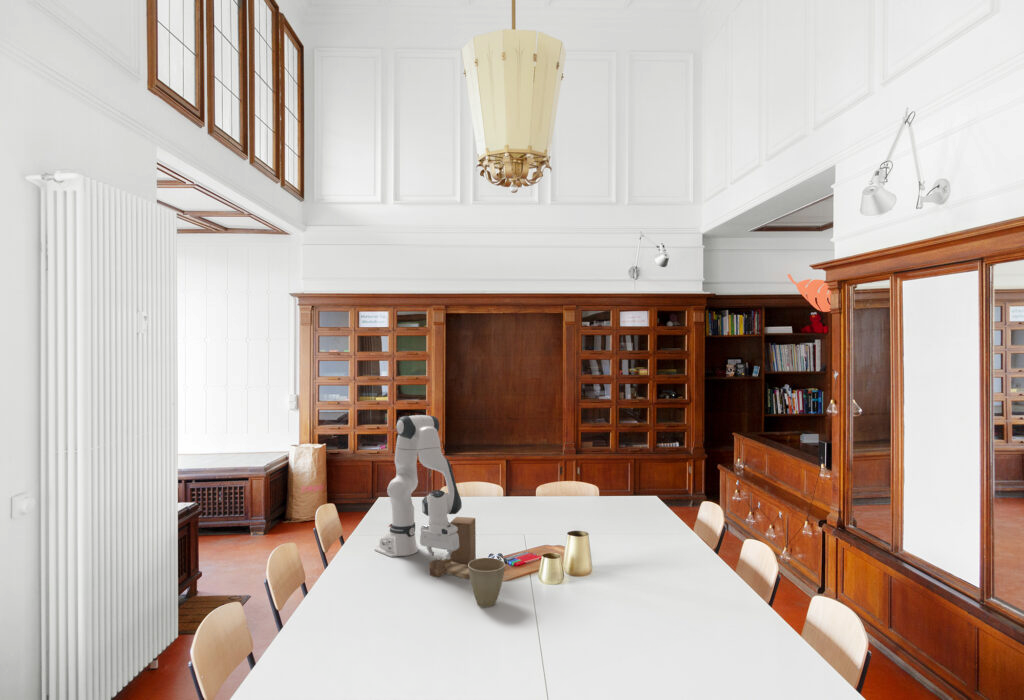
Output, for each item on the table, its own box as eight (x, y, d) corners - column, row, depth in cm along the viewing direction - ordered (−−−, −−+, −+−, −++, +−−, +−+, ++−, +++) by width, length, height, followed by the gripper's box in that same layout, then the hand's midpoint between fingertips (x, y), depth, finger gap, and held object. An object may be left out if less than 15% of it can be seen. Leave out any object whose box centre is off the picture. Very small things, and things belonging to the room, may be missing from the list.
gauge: (429, 575, 274) (429, 561, 274) (446, 566, 284) (446, 553, 284) (438, 577, 271) (437, 564, 271) (455, 568, 282) (455, 555, 282)
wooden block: (470, 565, 285) (470, 523, 285) (450, 564, 287) (449, 522, 287) (475, 558, 295) (475, 517, 295) (456, 557, 297) (456, 516, 297)
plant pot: (477, 614, 233) (477, 573, 233) (462, 600, 247) (462, 561, 246) (511, 606, 240) (511, 566, 240) (495, 593, 253) (495, 555, 253)
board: (436, 570, 279) (436, 566, 279) (448, 564, 286) (448, 560, 286) (478, 581, 266) (478, 577, 266) (490, 574, 274) (490, 570, 274)
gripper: (416, 526, 277) (417, 556, 277) (452, 531, 267) (453, 563, 267) (425, 522, 283) (426, 552, 283) (460, 527, 272) (461, 558, 272)
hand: (439, 557), depth 275 cm, fingers open, 8 cm apart
